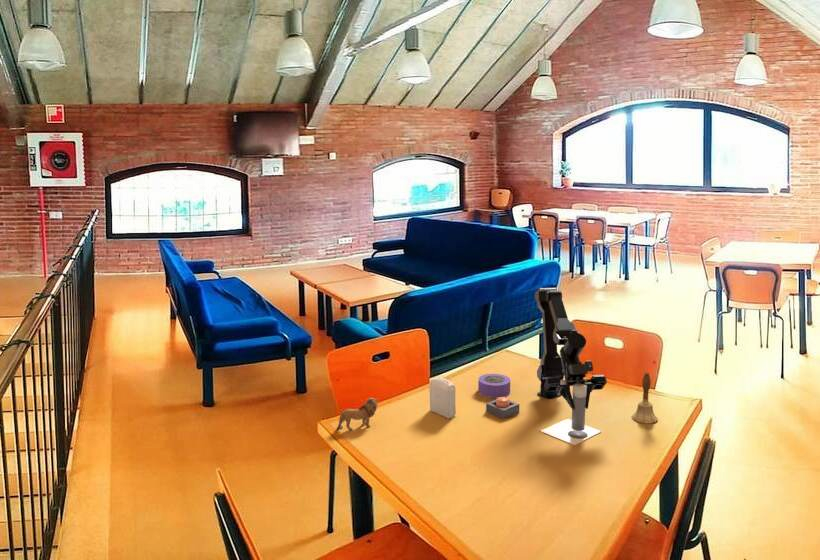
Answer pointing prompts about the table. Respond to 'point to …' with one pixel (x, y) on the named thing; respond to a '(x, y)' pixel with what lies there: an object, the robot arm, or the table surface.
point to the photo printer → (442, 397)
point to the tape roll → (494, 385)
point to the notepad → (570, 432)
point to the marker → (579, 407)
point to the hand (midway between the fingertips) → (580, 408)
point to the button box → (502, 409)
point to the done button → (502, 402)
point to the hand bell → (645, 404)
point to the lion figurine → (359, 414)
